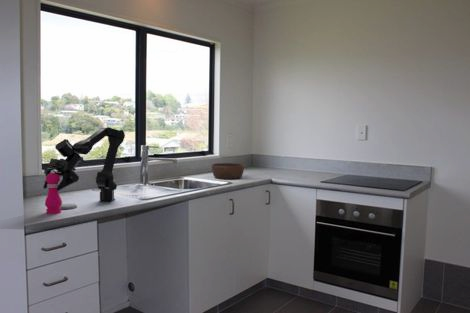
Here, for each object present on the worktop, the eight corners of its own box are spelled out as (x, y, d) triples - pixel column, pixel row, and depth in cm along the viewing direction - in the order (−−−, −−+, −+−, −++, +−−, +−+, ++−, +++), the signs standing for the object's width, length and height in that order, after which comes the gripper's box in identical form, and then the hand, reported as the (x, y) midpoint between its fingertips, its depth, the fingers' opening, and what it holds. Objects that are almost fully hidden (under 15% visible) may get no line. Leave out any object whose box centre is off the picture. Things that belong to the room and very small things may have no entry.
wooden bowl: (206, 176, 322) (206, 163, 321) (235, 175, 332) (235, 162, 331) (219, 181, 299) (219, 167, 298) (249, 179, 309) (249, 165, 309)
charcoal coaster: (80, 205, 207) (80, 204, 207) (71, 210, 197) (71, 208, 197) (61, 205, 207) (61, 203, 207) (50, 209, 197) (50, 207, 197)
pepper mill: (52, 210, 196) (51, 168, 194) (65, 211, 194) (64, 169, 192) (41, 213, 189) (40, 170, 187) (54, 214, 187) (53, 171, 185)
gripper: (46, 151, 197) (26, 176, 188) (73, 153, 188) (53, 180, 179) (60, 166, 204) (41, 191, 195) (87, 168, 195) (68, 195, 187)
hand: (50, 189), depth 189 cm, fingers open, 9 cm apart
